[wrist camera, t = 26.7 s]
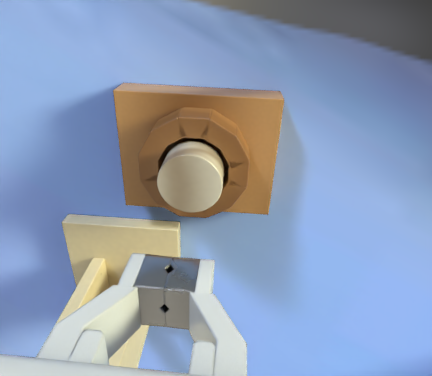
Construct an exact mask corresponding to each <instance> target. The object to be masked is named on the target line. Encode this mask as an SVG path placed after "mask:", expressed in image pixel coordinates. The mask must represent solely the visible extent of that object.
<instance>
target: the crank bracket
mask: <svg viewBox="0 0 432 376" xmlns="http://www.w3.org/2000/svg"><path fill="white" fill-rule="evenodd" d="M62 226H63V231H64V235H65V239H66V244H67V248H68V252H69V257H70V261H71V265H72V270H73V274H74V278H75V283H76V289H75V291H74V292H73V294H72V296H71V298H70V299H69V301H68V303H67V305H66V306H65V308H64V310H63V312H62V314H61V315H60V317H59V319H58V321H57V322H56V324H57V323H58V322H60V321H61V320H63V319H64V318H66V317H67V316H68V315H70V314H71V313H73V312H74V311H76V310H77V309H79V308H80V307H82V306H83V305H85V304H86V303H88V302H89V301H90V300H92V299H93V298H95V297H96V296H98V295H99V294H101V293H102V292H104V291H105V290H107V289H108V288H110V287H111V286H113V285H118V283H119V280H120V278H121V276H122V274H123V272H124V269H125V267H126V265H127V263H128V261H129V258H130V256H131V255H132V254H133V253H140V254H152V255H160V256H169V257H181V249H180V222H177V221H162V220H148V219H133V218H119V217H104V216H90V215H75V214H68V215H67V216H66V218H65V219H64V220H63V221H62ZM148 328H149V326H148V325H141V327H140V328H139V329H138V330H137V331H136V332H135V333H134V334H133V335H132V336H131V337H130V338H129V339H128V340H127V341H126V342H125V343H124V344H123V345H122V346H121V348H120V349H119V350H118V351H117V352H116V353H115V354H114V355H113V356H112V357H111V358H110V359H109V365H111V366H121V367H131V368H138V364H139V360H140V357H141V353H142V350H143V346H144V343H145V339H146V335H147V332H148Z"/></svg>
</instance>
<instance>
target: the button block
mask: <svg viewBox="0 0 432 376" xmlns="http://www.w3.org/2000/svg"><path fill="white" fill-rule="evenodd" d="M113 93H114V102H115V111H116V120H117V129H118V138H119V147H120V156H121V165H122V174H123V183H124V192H125V200H126V205H134V206H148V207H163V208H166V209H167V210H169V211H171V212H173V213H175V214H177V215H178V216H186V217H200V218H206V217H210V216H212V215H215V214H217V213H220V212H222V211H223V212H238V213H252V214H267V215H268V213H269V206H270V198H271V191H272V184H273V177H274V170H275V162H276V155H277V148H278V141H279V134H280V126H281V119H282V112H283V105H284V98H283V96H282V94H281V92H280V91H265V90H247V89H228V88H210V87H191V86H173V85H154V84H136V83H123V84H121V85H120V86H118V87H117V88H116V89H114V90H113ZM185 141H199V142H203V143H205V144H207V145H209V146H211V147H212V148H214V149H215V150H216V151H217V152H218V154H219V155H220V157H221V159H222V161H223V164H224V177H223V188H222V193H221V195H220V198H219V199H218V201H217V202H216V203H215V204H214V205H213V206H211V207H210V208H208V209H206V210H204V211H200V212H184V211H180V210H178V209H175V208H174V207H172V206H170V205H169V204H168V203H167V202H166V201H165V200H164V199H163V198H162V196H161V194H160V192H159V190H158V186H157V177H158V173H159V170H160V168H161V166H162V164H163V162H164V160H165V158H166V156H167V154H168V152H169V151H170V150H171V149H172V148H173V147H174V146H176V145H177V144H179V143H182V142H185Z"/></svg>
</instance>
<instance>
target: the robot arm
mask: <svg viewBox="0 0 432 376" xmlns="http://www.w3.org/2000/svg"><path fill="white" fill-rule="evenodd" d="M214 264H215V261H214V260H209V259H193V258H181V257H169V256H160V255H152V254H140V253H133V254H132V255H131V256H130V258H129V261H128V263H127V265H126V267H125V269H124V272H123V274H122V276H121V278H120V280H119V283H118V285H113V286H111V287H110V288H108V289H107V290H105V291H104V292H102V293H101V294H99V295H98V296H96V297H95V298H93V299H92V300H90V301H89V302H88V303H86V304H85V305H83V306H82V307H80V308H79V309H77V310H76V311H74V312H73V313H71V314H70V315H68V316H67V317H66V318H64V319H63V320H61V321H60V322H58V323H57V324H55V326H54V327H53V329H52V331H51V332H50V334H49V336H48V337H47V339H46V341H45V342H44V344H43V346H42V348H41V349H40V351H39V353H38V354H37V356H36V358H35V357H25V356H16V355H6V354H0V376H247V344H246V342H245V341H244V339H243V338H242V336H241V334H240V333H239V331H238V330H237V328H236V327H235V325H234V324H233V322H232V321H231V319H230V317H229V316H228V314H227V313H226V311H225V310H224V308H223V307H222V305H221V304H220V302H219V300H218V299H217V297H216V296H215V294H213V280H214ZM141 325H148V326H163V327H172V328H180V329H188V330H189V331H190V334H191V336H192V338H193V341H194V343H193V348H192V354H191V360H190V365H189V371H188V373H178V372H169V371H159V370H150V369H140V368H131V367H121V366H111V365H109V359H110V358H111V357H112V356H113V355H114V354H115V353H116V352H117V351H118V350H119V349H120V348H121V346H122V345H123V344H124V343H125V342H126V341H127V340H128V339H129V338H130V337H131V336H132V335H133V334H134V333H135V332H136V331H137V330H138V329H139V328H140V327H141Z"/></svg>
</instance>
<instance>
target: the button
mask: <svg viewBox="0 0 432 376" xmlns="http://www.w3.org/2000/svg"><path fill="white" fill-rule="evenodd" d="M223 177H224V164H223V161H222V159H221V157H220V155H219V154H218V152H217V151H216V150H215V149H214V148H212V147H211V146H209V145H207V144H205V143H203V142H199V141H185V142H182V143H179V144H177V145H176V146H174V147H173V148H172V149H171V150H170V151H169V152H168V154H167V156H166V158H165V160H164V162H163V164H162V166H161V168H160V170H159V173H158V177H157V186H158V190H159V192H160V194H161V196H162V198H163V199H164V200H165V201H166V202H167V203H168V204H169V205H170V206H172V207H174V208H175V209H178V210H180V211H184V212H200V211H204V210H206V209H208V208H210V207H211V206H213V205H214V204H215V203H216V202H217V201H218V199H219V198H220V195H221V193H222V188H223Z"/></svg>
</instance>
